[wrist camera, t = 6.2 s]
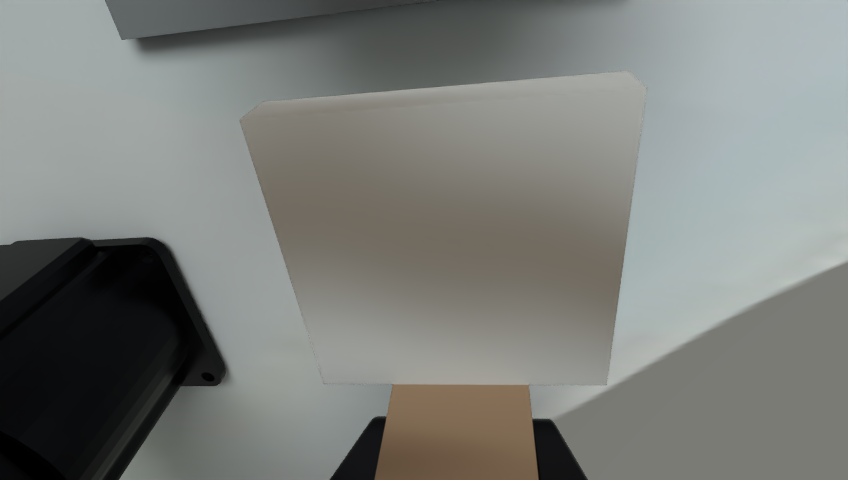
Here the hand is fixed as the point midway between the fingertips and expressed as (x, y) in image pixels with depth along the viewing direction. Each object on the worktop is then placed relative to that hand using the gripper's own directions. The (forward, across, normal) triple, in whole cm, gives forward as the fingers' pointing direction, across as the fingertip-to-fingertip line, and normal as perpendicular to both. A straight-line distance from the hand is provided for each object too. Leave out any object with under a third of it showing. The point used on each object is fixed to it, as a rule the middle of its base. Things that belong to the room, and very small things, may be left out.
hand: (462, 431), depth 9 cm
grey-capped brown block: (+1, 0, -1) cm, 1 cm away
